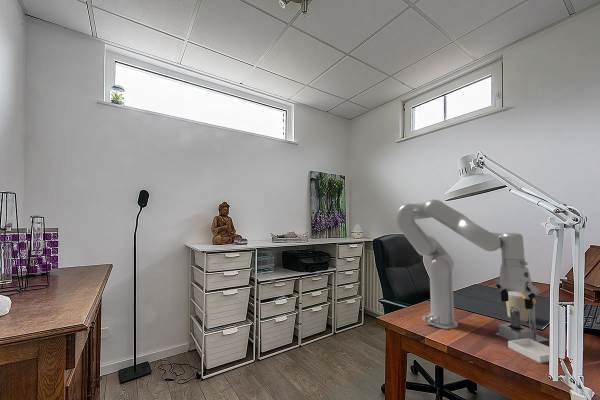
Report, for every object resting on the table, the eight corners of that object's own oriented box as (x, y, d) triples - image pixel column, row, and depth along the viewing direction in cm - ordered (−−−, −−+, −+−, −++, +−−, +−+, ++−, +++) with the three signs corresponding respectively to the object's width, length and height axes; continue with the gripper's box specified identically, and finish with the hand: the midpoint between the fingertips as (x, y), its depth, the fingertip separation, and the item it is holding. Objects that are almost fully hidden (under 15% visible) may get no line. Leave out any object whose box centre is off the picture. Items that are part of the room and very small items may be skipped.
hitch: (519, 346, 103) (517, 310, 104) (494, 334, 113) (493, 302, 113) (550, 341, 107) (548, 306, 107) (524, 330, 116) (522, 299, 117)
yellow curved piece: (515, 294, 124) (515, 290, 124) (523, 294, 123) (523, 291, 123) (528, 303, 111) (528, 299, 111) (537, 304, 110) (537, 300, 110)
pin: (517, 339, 107) (515, 309, 108) (509, 336, 110) (507, 306, 111) (523, 338, 108) (521, 308, 108) (515, 335, 111) (513, 306, 112)
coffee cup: (518, 314, 134) (517, 290, 135) (535, 322, 125) (534, 296, 126) (501, 315, 134) (500, 291, 135) (516, 322, 125) (515, 297, 125)
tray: (540, 364, 90) (540, 356, 91) (508, 348, 101) (508, 341, 101) (562, 360, 93) (561, 352, 93) (528, 345, 103) (528, 338, 104)
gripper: (543, 265, 103) (547, 310, 102) (500, 259, 120) (503, 297, 119) (528, 267, 101) (532, 313, 100) (487, 260, 118) (489, 299, 117)
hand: (516, 304), depth 109 cm, fingers open, 9 cm apart
